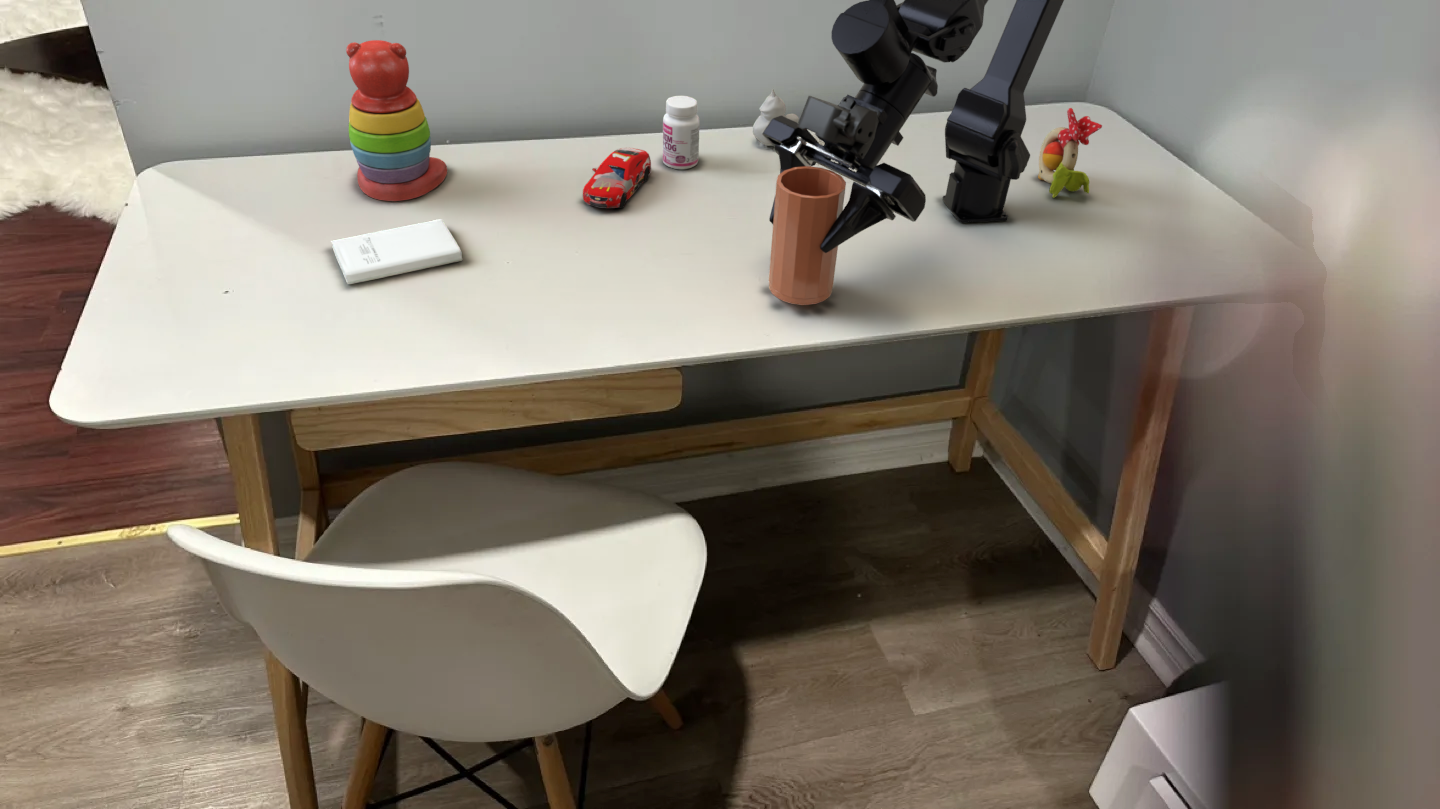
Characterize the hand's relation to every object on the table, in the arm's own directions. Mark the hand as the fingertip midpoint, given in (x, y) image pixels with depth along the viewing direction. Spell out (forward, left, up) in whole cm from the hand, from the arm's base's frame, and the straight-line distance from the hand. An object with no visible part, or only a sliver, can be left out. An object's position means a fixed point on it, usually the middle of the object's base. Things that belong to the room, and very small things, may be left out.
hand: (796, 236), depth 103 cm
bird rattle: (-41, -23, -8) cm, 48 cm away
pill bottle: (+7, -35, -8) cm, 36 cm away
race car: (+16, -28, -8) cm, 33 cm away
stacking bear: (+43, -32, -8) cm, 54 cm away
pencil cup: (-1, -1, -7) cm, 7 cm away
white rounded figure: (-7, -40, -8) cm, 41 cm away
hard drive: (+42, -14, -8) cm, 45 cm away
